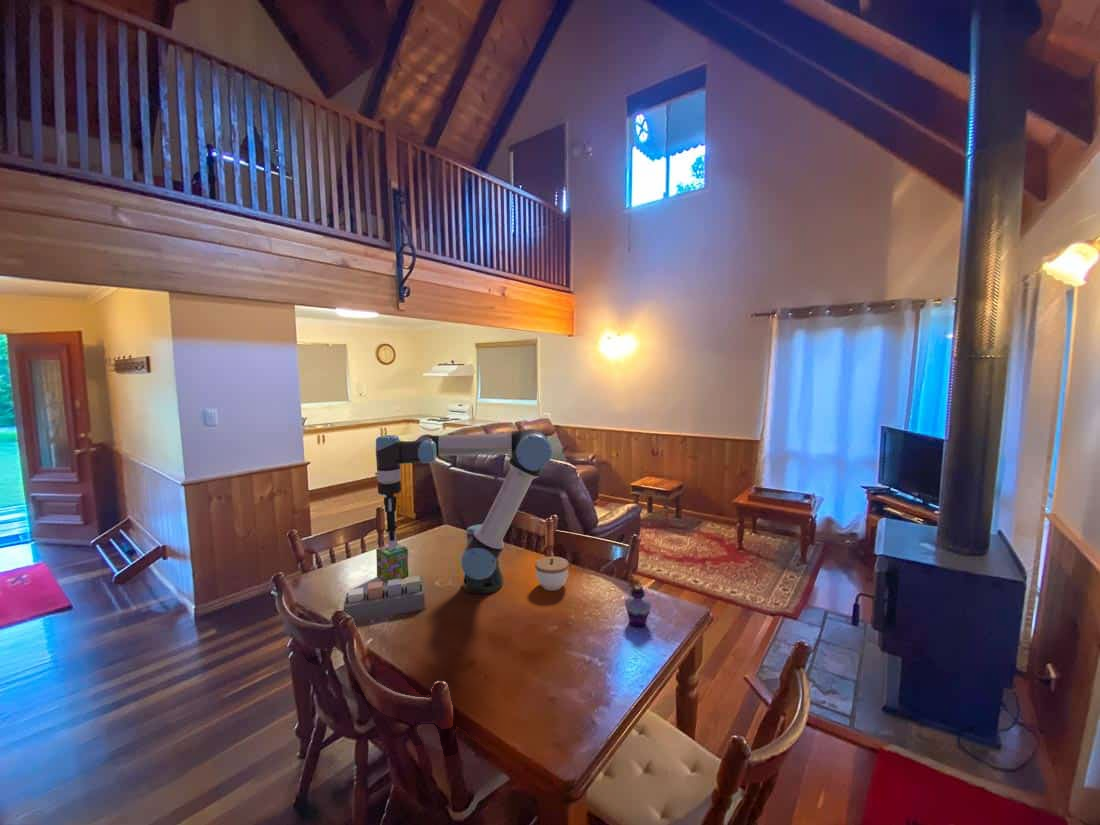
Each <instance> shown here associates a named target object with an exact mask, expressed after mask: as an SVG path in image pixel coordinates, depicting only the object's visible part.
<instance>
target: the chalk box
mask: <svg viewBox="0 0 1100 825" xmlns="http://www.w3.org/2000/svg"><path fill="white" fill-rule="evenodd" d="M396 543H397V549H391V550H388V545H386V546H383V547H379V548H376V550H375V551H376V556H375V557H376V578H377V577H378V579H380V580H381V581H384V582H385V583H387V584H388V580H394V579H401V580H402V579H403V578H407V577H408V576H409V575H410V574H409V549H408V547H406V546H404V545H401V544H400V543H398V540H396ZM409 577H410V576H409Z"/></svg>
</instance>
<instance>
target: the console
mask: <svg viewBox="0 0 1100 825" xmlns="http://www.w3.org/2000/svg"><path fill="white" fill-rule="evenodd" d="M401 589H402V595H395V596H389V597H388V587H387V586H383V598H377V599H370V600H369V599H368V589H363V591H364V601H358V602H351V603H348V594H349V592H346V595H345V600H344V603H343V613H344V612H345V613H347V614H348V615H350V616H351V617H352V618H353V619H354V621H353V622H359V621H363V620H364V619H365V620H369V618H370V619H375V618H381V617H387V616H394V615H398V614H399V615H400V614H405V613H409V612H415V611H416V612H417V611H421V610H422V611H423V610H425V609H426V608H425V607H426V604H425V587H424V581H422V580H420V592H414V593H408V594H407V583H401ZM365 620H364V621H365Z"/></svg>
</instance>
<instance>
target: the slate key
mask: <svg viewBox="0 0 1100 825" xmlns="http://www.w3.org/2000/svg"><path fill="white" fill-rule="evenodd" d="M401 585H402V578H401V579H394V580H388V583H387V586H386V587H388V597H389V596H395V595H402V589H401Z"/></svg>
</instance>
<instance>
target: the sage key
mask: <svg viewBox="0 0 1100 825" xmlns="http://www.w3.org/2000/svg"><path fill="white" fill-rule="evenodd" d="M405 578H406V584H407V594H408V593H414V592H420V582H421V580H420V575H416V576H409V577H408V576H407V577H405Z"/></svg>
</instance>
